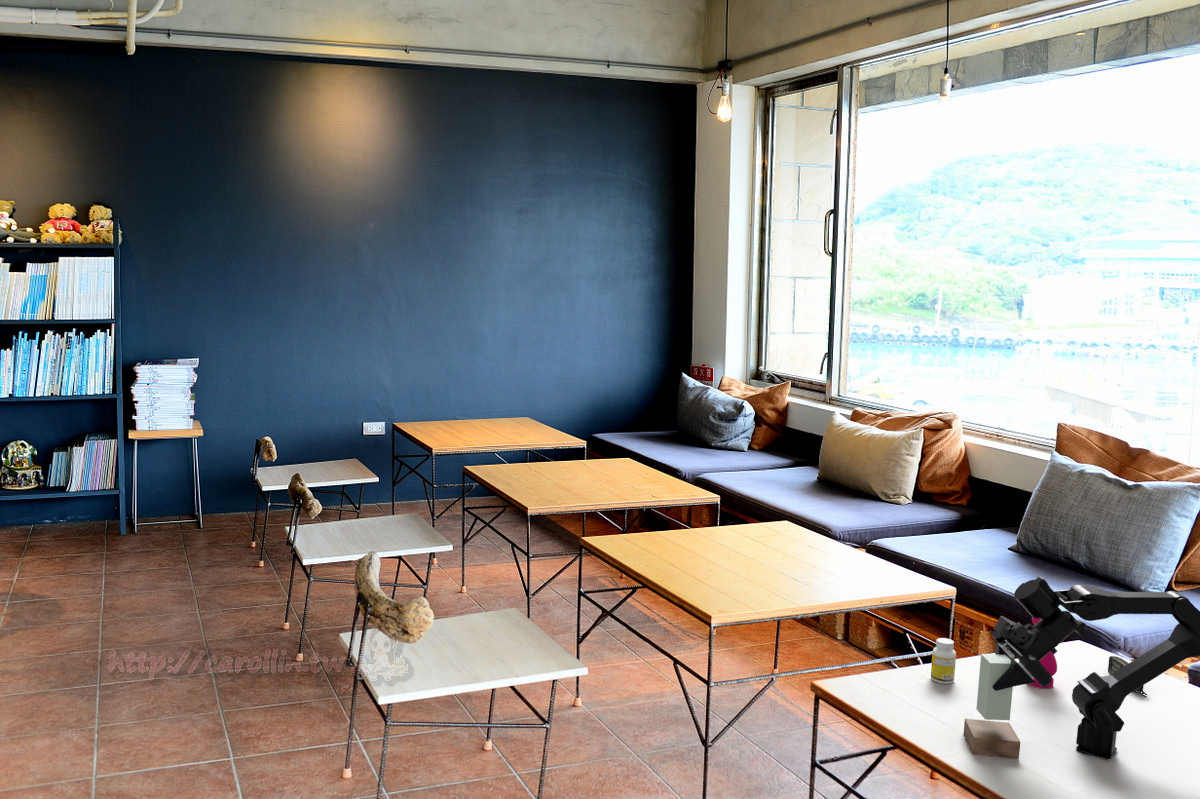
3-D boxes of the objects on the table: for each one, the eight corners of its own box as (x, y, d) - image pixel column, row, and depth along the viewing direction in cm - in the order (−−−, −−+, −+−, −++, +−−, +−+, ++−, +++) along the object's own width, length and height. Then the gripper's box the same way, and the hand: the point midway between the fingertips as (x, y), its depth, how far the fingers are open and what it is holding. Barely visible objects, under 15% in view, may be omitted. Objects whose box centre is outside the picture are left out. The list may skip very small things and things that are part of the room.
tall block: (1000, 709, 217) (1005, 654, 215) (1009, 720, 212) (1014, 663, 210) (976, 709, 217) (981, 653, 215) (985, 719, 212) (990, 663, 210)
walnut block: (1007, 740, 219) (1009, 722, 218) (1018, 760, 210) (1020, 741, 209) (963, 736, 220) (964, 718, 219) (972, 756, 211) (974, 737, 210)
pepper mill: (1027, 675, 255) (1035, 596, 252) (1058, 683, 251) (1066, 603, 248) (1019, 684, 249) (1027, 603, 246) (1051, 692, 245) (1060, 610, 242)
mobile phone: (1106, 654, 259) (1139, 676, 244) (1118, 654, 259) (1152, 676, 244) (1105, 673, 259) (1137, 696, 244) (1116, 673, 259) (1150, 697, 244)
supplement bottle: (935, 673, 253) (938, 635, 252) (957, 680, 250) (961, 640, 249) (926, 680, 249) (930, 640, 248) (948, 686, 246) (952, 646, 244)
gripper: (1004, 591, 220) (948, 639, 222) (1041, 621, 202) (980, 673, 203) (1037, 628, 221) (981, 676, 223) (1078, 661, 203) (1016, 713, 204)
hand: (988, 683), depth 213 cm, fingers closed on tall block, 5 cm apart
